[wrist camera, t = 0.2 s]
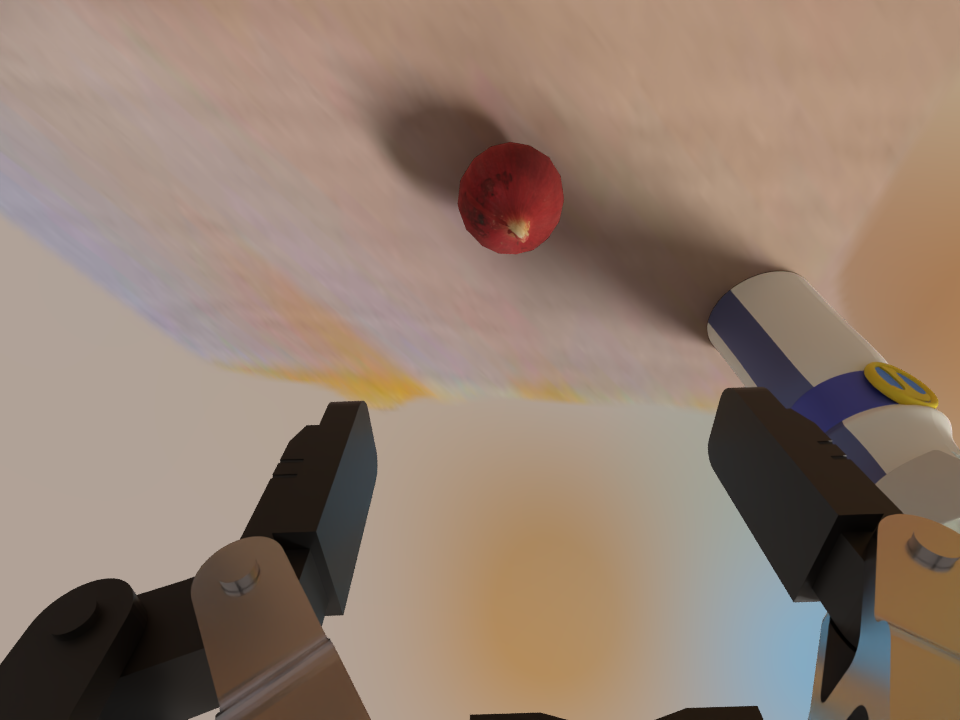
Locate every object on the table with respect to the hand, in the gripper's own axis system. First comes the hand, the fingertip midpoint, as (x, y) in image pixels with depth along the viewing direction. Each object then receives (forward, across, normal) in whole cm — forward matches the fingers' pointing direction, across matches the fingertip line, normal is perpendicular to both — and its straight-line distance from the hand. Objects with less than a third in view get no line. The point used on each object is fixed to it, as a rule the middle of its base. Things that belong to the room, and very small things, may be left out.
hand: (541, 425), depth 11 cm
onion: (+23, 0, -1) cm, 23 cm away
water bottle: (+24, -20, +9) cm, 32 cm away
